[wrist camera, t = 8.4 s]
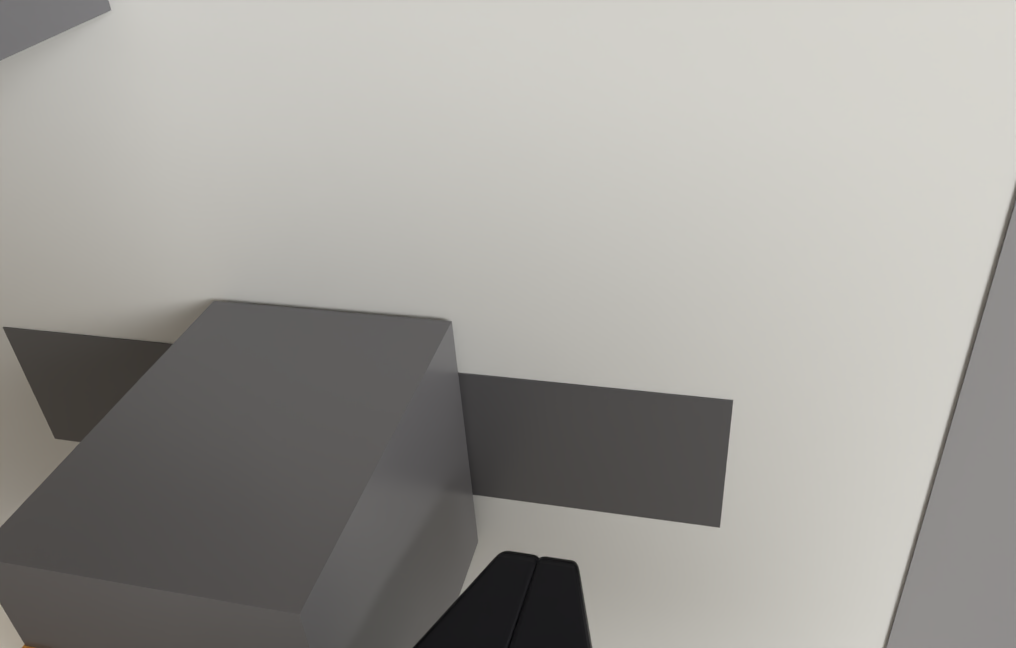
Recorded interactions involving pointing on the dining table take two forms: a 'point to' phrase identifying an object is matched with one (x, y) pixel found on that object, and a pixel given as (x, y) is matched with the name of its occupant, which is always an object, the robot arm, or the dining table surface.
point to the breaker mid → (257, 494)
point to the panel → (576, 275)
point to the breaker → (42, 20)
